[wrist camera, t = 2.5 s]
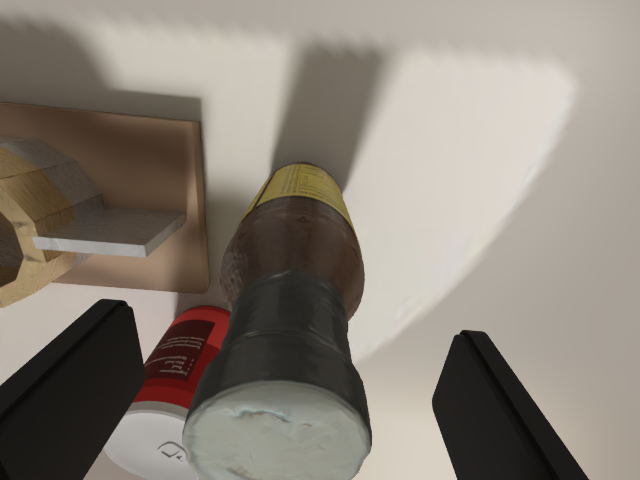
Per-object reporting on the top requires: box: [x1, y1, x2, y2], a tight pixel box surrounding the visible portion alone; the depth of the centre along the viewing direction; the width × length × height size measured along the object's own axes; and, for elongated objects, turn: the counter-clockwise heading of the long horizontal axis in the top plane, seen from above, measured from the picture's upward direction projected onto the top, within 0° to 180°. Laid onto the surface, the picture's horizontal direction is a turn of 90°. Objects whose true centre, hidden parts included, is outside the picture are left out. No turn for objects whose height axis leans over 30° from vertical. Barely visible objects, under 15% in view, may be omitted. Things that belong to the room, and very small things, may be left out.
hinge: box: [0, 135, 186, 308], centre depth 20 cm, size 10×22×6 cm, turn 85°
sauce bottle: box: [182, 162, 372, 480], centre depth 15 cm, size 6×6×20 cm
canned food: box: [103, 306, 230, 480], centre depth 25 cm, size 8×8×11 cm
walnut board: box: [0, 102, 210, 294], centre depth 24 cm, size 14×24×2 cm, turn 85°
